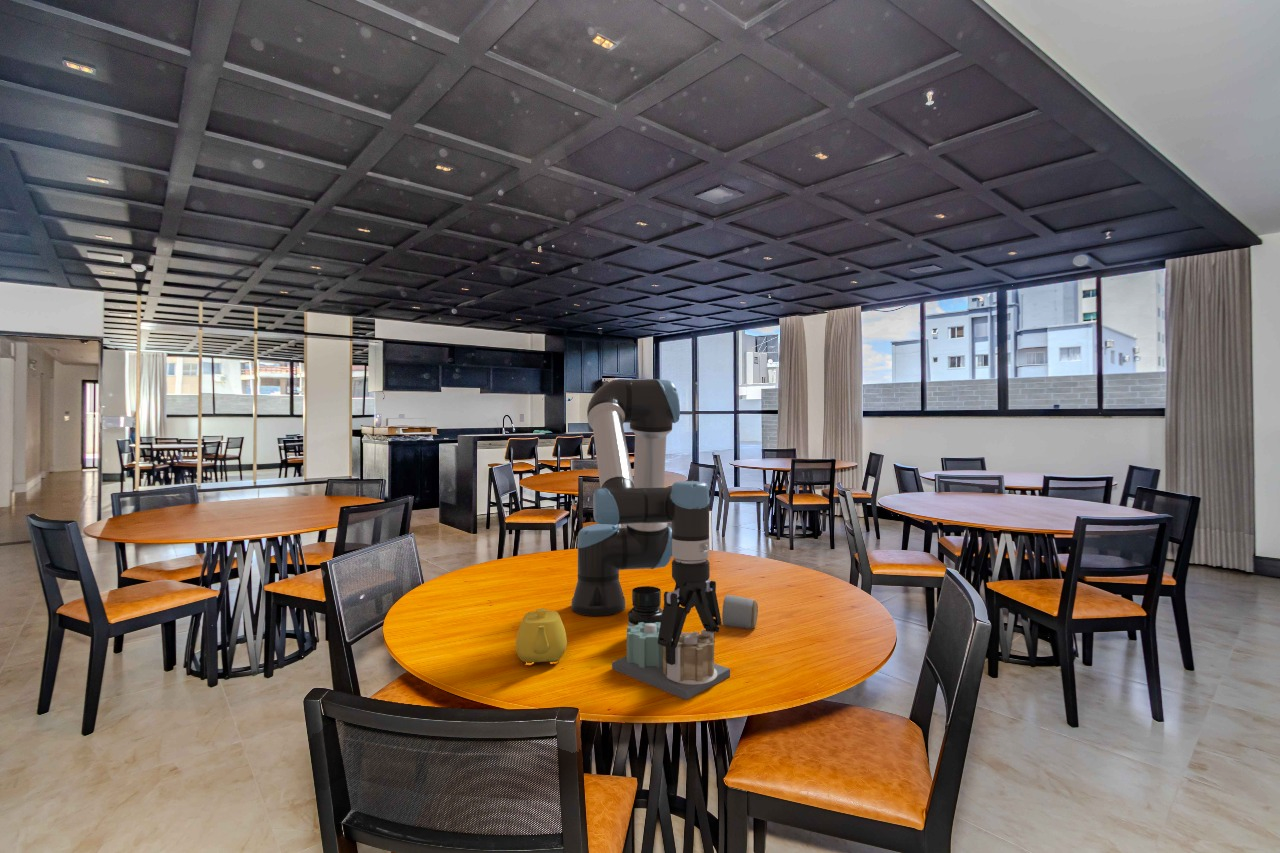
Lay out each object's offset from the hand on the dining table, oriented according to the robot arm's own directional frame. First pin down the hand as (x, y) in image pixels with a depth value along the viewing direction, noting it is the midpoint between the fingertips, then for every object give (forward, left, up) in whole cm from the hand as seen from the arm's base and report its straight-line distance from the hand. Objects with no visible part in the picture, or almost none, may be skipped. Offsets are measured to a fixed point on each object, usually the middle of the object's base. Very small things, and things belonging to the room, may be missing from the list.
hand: (691, 671), depth 115 cm
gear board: (-6, 0, -2) cm, 6 cm away
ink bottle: (-22, +10, -2) cm, 24 cm away
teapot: (-31, -14, -2) cm, 34 cm away
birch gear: (-1, 0, 0) cm, 1 cm away
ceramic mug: (-12, +35, -2) cm, 36 cm away
